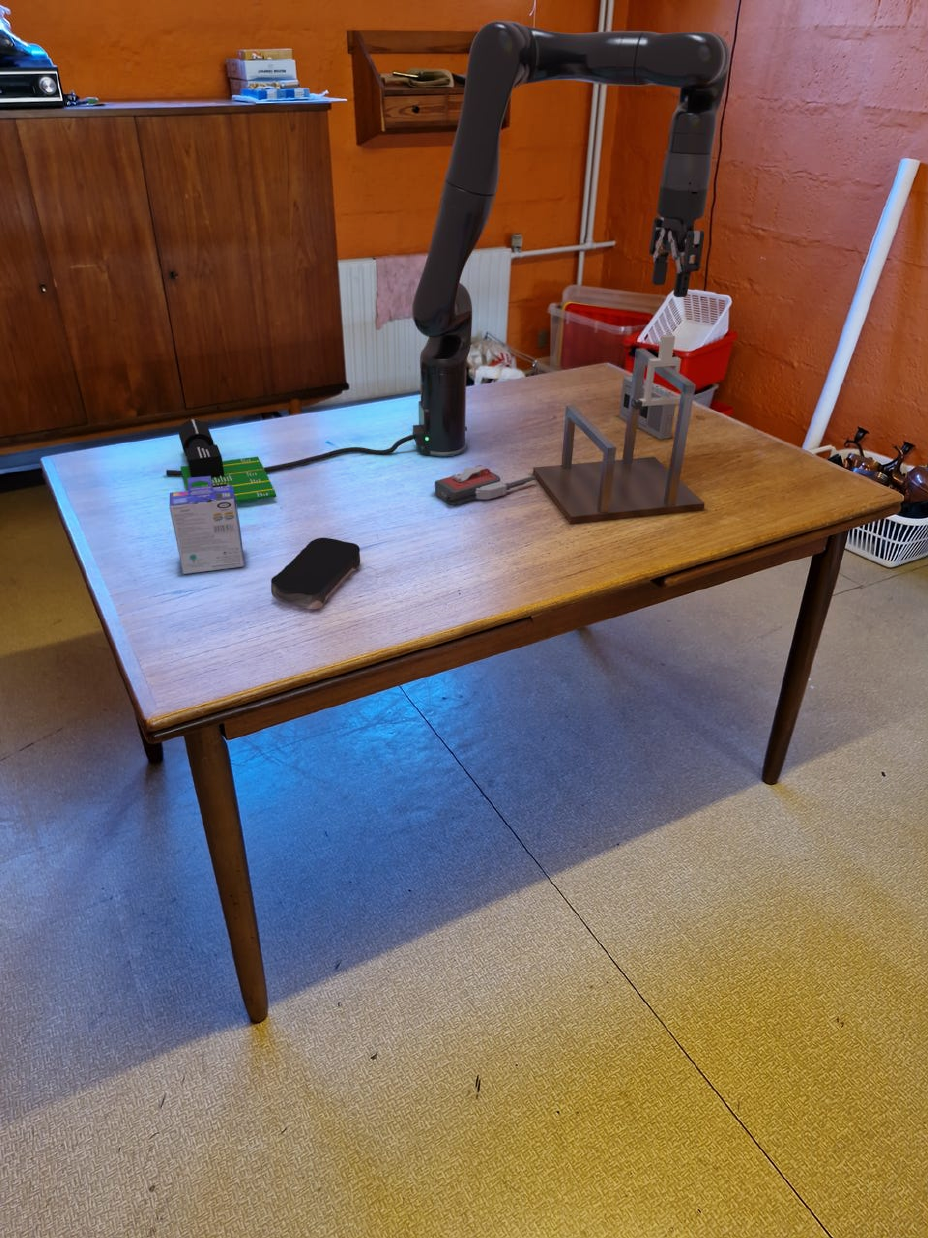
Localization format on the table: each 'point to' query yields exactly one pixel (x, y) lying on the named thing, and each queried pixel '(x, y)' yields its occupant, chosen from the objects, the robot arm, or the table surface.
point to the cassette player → (649, 410)
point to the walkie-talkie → (474, 485)
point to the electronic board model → (221, 465)
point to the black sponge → (316, 572)
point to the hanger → (661, 361)
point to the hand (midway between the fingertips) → (668, 290)
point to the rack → (622, 465)
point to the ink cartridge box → (206, 527)
